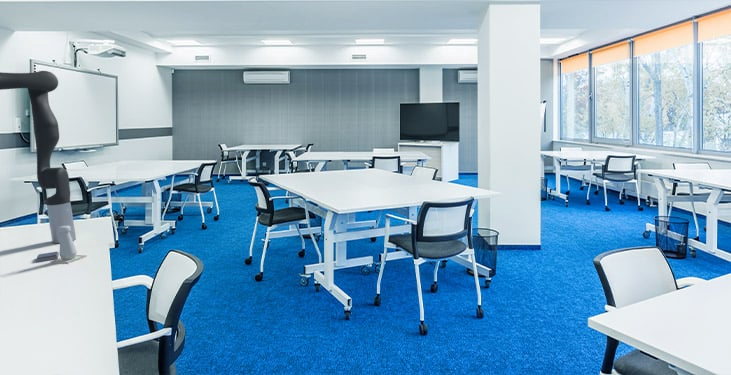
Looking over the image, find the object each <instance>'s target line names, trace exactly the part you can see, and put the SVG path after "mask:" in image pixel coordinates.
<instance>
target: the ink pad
mask: <svg viewBox="0 0 731 375" xmlns="http://www.w3.org/2000/svg"><path fill="white" fill-rule="evenodd" d="M59 252H60V251H52V252H51V251H50V252H46V253H39V254H38V255H37V257H36V258H35V262H36V263H41V262H47V261H53V260H56V259H59V257H60V254H59Z"/></svg>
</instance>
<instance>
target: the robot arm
mask: <svg viewBox="0 0 731 375" xmlns="http://www.w3.org/2000/svg"><path fill="white" fill-rule="evenodd" d="M58 86H59V79H58V78H57V76H56V74H54V73H53V72H52V71H51V72H50V71H48V70H38V71H35V72H20V73H18V72H0V90H1V91H2V90H3V91H4V90H13V89H16V90H17V89H27V91H28V92H27V93H28V96H29V100H30V104H31V106H30V107H31V114H32V121H33V125H32V126H33V134H34V141H35V142H34V143H35V147H36V148H35V152H36V178H37V183H38V185H39V187H40V188H41V189H43V190H50V189H52V190H53V189H55V193H54V194H52V195H51V196H48V197H47V198H45V204H46V205H45V206H46V209H47V217H48V222H49V230H50V235H51V241H52V243H53V244H60V233H58V227H60V226H70V228H71V231H70V235H71V238H72V240H73V241H75V240H76V239H77V237H76V229H75V224H74V222H75V221H74V217H73V211H72V210H73V209H72V205H71V187H70V185H71V184H70V177H69V173H68V171H67V169H66V168H64V167H61V166H60V167H51V158H52V154H53V152H54V150H55V149H56V147H57V145H58V143H59V140H60V128H59V123H58V120H57V118H56V116H55V114H54V112H53V110H52V109H51V107H50V106H51V105H50V102H49V93H50V92H53V91H55V90H56V89H57V87H58Z"/></svg>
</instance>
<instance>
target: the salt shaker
mask: <svg viewBox="0 0 731 375" xmlns="http://www.w3.org/2000/svg"><path fill="white" fill-rule="evenodd" d="M70 231H71V228H70V226H60V227H58V233H60V243H59V251H58V252H59V257H60V258H62V260H72V259H74V258H75V257H76V255H78V254H77V253H78V251H77V249H76V246H75V244H74V240H72V238H71V235H70Z"/></svg>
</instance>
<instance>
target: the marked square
mask: <svg viewBox="0 0 731 375" xmlns="http://www.w3.org/2000/svg"><path fill="white" fill-rule="evenodd" d="M84 258H87V255H85V254H82V255H80V254H76V257H75V258H74V259H72V260H62V258H61V257H60V258H59V257H58V259H54V260H50V263H52V264H70V263H74V262H75V261H79V260H81V259H84Z"/></svg>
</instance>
